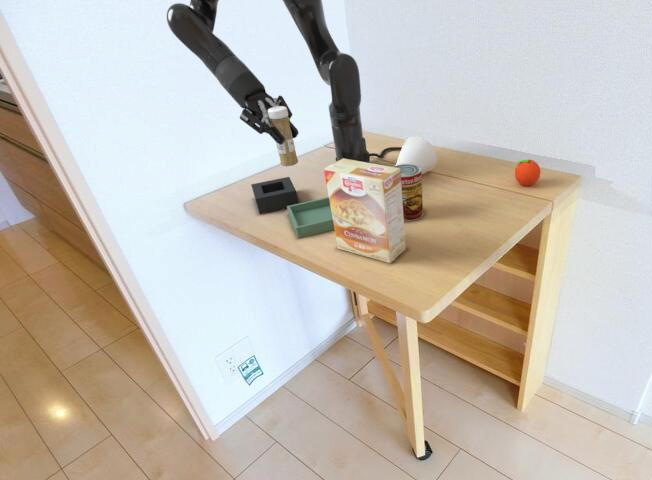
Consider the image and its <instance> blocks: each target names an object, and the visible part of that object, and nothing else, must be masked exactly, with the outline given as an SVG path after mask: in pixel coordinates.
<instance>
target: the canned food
mask: <svg viewBox="0 0 652 480" xmlns="http://www.w3.org/2000/svg"><path fill="white" fill-rule="evenodd" d="M393 167H395V168H400V172H401V187H402V202H403V217H404V222H413V221H417V220H419V219H421V218H422V217H423V215H424V204H423V203H424V201H423V180H422V179H423V178H422V177H423V175H422V172H421V167H420V166H418V165H414V164H401V165H397V166H395V165H394V166H393Z"/></svg>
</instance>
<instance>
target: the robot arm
mask: <svg viewBox="0 0 652 480" xmlns="http://www.w3.org/2000/svg"><path fill="white" fill-rule="evenodd" d="M219 1H220V0H190V2H189V5H187V4H185V3H181V2H178V3H173V4H172V5H170V6H169V7H168V9H167V11H166V23H167V25H168V27H169V30H170V32H171V33H172V34H173V35H174V36H175V37H176V38H177V39H178V40H179V41H180V42H181V43H182V44H183V45H184V46H185V48H187V49H188V50H189V51H190V52H191V53H193V54H194V55H195V56H196V57H197V58H198V59H199V60H200V61H201V62H202V63H203V65H204V66H205V67H206V68H207V70H209V72H210V73H211V74H212V75H213V76H214V77H215V78H216V79H217V81H218V83H219V84H220V86H222V88H223V89H224V90H225V91H226V92H227V94H228V95H230V97H231V98H232V99H233V100H234V101H235V102H236V104H237V105H239V107H240V108H241V109H242V111H241V114H240V115H239V119H240V120H241V121H242V122H243V123H245V124H246V125H248V126H249V127H250V128H251V129H253V130H254V131H255V132H257V133H258V134H259V135H263V134H267V135H269V136H270V137H271V139H272V140H274V142H275V141H276V142H277V143H279V144H280V145H281V144H283V143H284V141H285V137H284V136H283V135H282V134H281V133H280V132H279V131H278V130H277V128H276V127H273V124H272V122H271V120H270V118H269V115H268V109H269V108H272V107H276V106H285V107H286V108H287V111H288V119H289V124H290V129H291V132H292V137H293V139H296V138H297V137H298V135H299V130H298V128H297V127H296V126H295V125H294V124H293V122H292V121H291V118H292V116H293V113H292V110H291V109H290V107H289V105H288V104H287V102H286V100H285V99H284V97H283V96H282V95H278V96H277V97H273V96H272V95H270V94H268V93H267V91H266V87H265V85H264V84H263V83H262V81H260V79H259V78H258V77H257V76H256V75H255V74H254V73H253V72H252V71H251V69H250V68H249V67H248V66H247V65H246V64H245V62H243V61H242V60H241V59H240V58H239V57H238V56H237V55H236V53H234V52H233V50H232V49H231V48H230V47H229V46H228V45H227V43H225V42H224V41H223V40H222V39H221V38H219V37H218V36H217V35H216V34H215V33H214V30H215V24H216V19H217V15H218V14H217V13H218V5H219ZM282 2H283V4H284V6H285V7H286V9H287V11H288V13H289V15H290V17H291V19H292V20H293V22H294V24H295V26H296V28H297V29H298V31H299V33H300V34H301V37H302V38H303V40H304V42H305V44H306V46H307V48H308V50H309V52H310V55H311V57H312V59H313V62H314V64H315V67H316V69H317V72H318V74H319V76H320V77H321V80H322V81H323V82H324V83H325V84H326V85H327V86H329V87H330V93H331V102H330V103H329V104H328V112H329V113H328V114H329V119H330V126H331V132H332V138H333V139H332V140H333V144H334V152H335V163H336V162H337V161H339V160H341V159H343V158H344V159H349V160H355V161H361V162H366V163H371V158H370V157H376V158H378V159H381V158H382V157H383V156H384V154H385V153H386V152H388V151H394V150H395V151H401V149H402V147H403V146H389V147H386V148H384V149H383V150H381V153H380V154H378V153H377V152H374V153H371V152H369V151H368V150H367V141H366V138H365V137H364V133H363V124H362V115H361V103H362V90H361V89H362V88H361V78H360V77H361V76H360V75H361V74H360V70H359V65H358V62H357V61H356V59H355V58H354V57H353V56H352V55H350V54H348V53H346V52H341V51H340V50H339V48H338V46H337V44H336V43H335V41H334V38H333V37H332V35H331V33H330V30H329V29H328V25H327V21H326V16H325V10H324V4H323V1H322V0H282ZM276 142H275V143H276Z"/></svg>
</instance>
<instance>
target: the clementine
mask: <svg viewBox="0 0 652 480" xmlns="http://www.w3.org/2000/svg"><path fill="white" fill-rule="evenodd" d="M516 164H517V165H516ZM514 165H516V167H515V169H514V179H515V180H516V182H517V183H518V184H519V185H521V186H524V187H525V186H532V185H534V184H535V183H536V182H538V180H539V178H540V176H541V168H540V165H539V164H538V163H537V162H536V161H535V160H533V159H521V160H518V161H516V162H515V163H514Z"/></svg>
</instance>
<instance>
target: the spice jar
mask: <svg viewBox="0 0 652 480" xmlns="http://www.w3.org/2000/svg"><path fill="white" fill-rule="evenodd" d="M268 115H269V118H270V120H271V122H272V124H273V127H276V128H277V130H278V131H279V132H280V133H281V134H282V135H283V136H284V137H285V141H284V143H283V144H281V145H280V144H279V143H277V142H276V141H275V140H274V142H275V146H276V149H277V153H278V156H279V161H280V162H279V164H280V165H281V166H283V167H292V166H295V165H297V164H298V163H299V159H298V156H297V152H296V151H297V150H296V145H295V142H294V138H293V137H292V132H291V129H290V124H289V119H288V111H287V108H286V107H285V106H276V107H272V108H269V109H268Z"/></svg>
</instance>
